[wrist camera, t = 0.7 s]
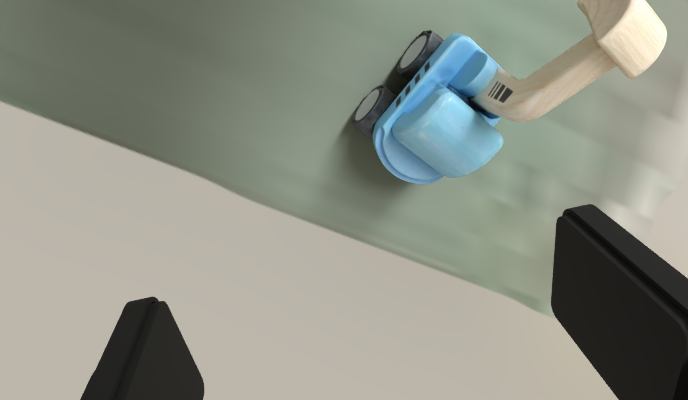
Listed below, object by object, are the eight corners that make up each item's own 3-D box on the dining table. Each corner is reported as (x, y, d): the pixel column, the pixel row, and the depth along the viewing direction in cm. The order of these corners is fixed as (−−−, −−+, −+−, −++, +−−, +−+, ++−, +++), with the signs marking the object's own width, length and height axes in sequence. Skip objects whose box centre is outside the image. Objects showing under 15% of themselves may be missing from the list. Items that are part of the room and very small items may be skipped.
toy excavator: (548, 26, 38) (725, 69, 22) (413, 174, 42) (484, 290, 27) (480, -48, 34) (635, -56, 19) (343, 121, 39) (380, 220, 24)
